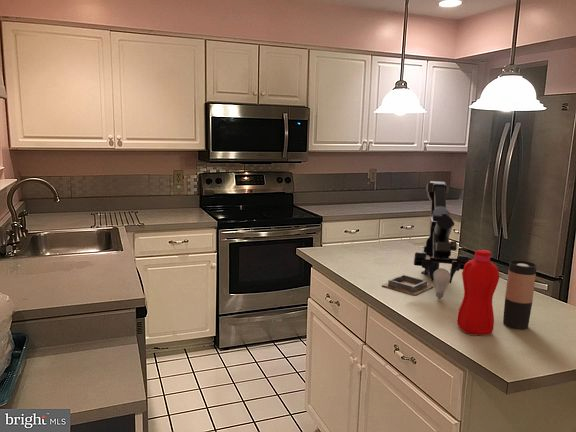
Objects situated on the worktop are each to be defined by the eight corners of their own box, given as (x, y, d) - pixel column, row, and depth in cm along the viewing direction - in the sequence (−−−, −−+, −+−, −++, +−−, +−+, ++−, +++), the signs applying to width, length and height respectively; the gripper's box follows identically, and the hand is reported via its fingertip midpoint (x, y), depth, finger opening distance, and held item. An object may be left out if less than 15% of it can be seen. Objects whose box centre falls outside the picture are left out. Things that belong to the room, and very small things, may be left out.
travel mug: (497, 320, 153) (504, 260, 150) (520, 320, 154) (527, 260, 150) (510, 330, 146) (518, 267, 142) (534, 330, 147) (542, 267, 143)
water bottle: (477, 321, 152) (486, 244, 148) (497, 336, 142) (506, 254, 137) (450, 322, 151) (457, 245, 146) (467, 337, 140) (476, 254, 136)
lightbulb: (449, 302, 167) (452, 272, 165) (431, 300, 168) (434, 270, 166) (447, 296, 173) (450, 267, 171) (429, 294, 174) (432, 265, 172)
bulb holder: (400, 278, 193) (401, 272, 193) (433, 287, 184) (433, 281, 183) (381, 286, 183) (382, 279, 183) (414, 295, 174) (415, 289, 173)
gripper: (416, 230, 172) (415, 268, 163) (471, 234, 168) (473, 273, 160) (414, 245, 181) (413, 283, 172) (466, 250, 177) (467, 288, 169)
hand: (441, 281), depth 168 cm, fingers closed on lightbulb, 6 cm apart
